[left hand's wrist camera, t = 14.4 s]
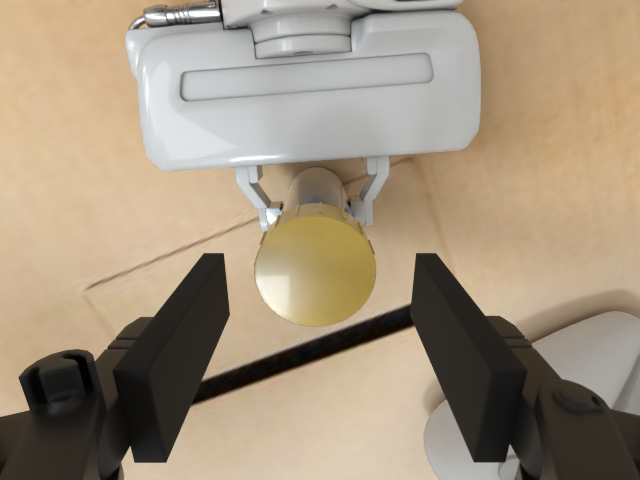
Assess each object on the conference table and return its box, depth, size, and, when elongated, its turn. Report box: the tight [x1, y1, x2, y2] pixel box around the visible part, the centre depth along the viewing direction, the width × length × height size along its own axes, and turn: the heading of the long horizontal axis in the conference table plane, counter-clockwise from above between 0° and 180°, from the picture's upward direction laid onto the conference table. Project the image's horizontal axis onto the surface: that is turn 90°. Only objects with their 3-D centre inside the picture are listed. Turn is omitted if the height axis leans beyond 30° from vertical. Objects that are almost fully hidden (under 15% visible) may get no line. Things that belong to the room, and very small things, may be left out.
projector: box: [424, 311, 640, 480], centre depth 31 cm, size 22×23×15 cm
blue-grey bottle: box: [280, 167, 353, 217], centre depth 23 cm, size 5×5×15 cm
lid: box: [254, 202, 376, 327], centre depth 17 cm, size 5×5×2 cm
